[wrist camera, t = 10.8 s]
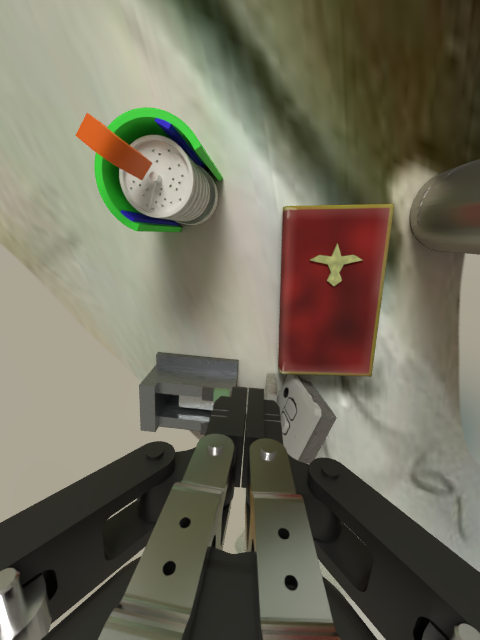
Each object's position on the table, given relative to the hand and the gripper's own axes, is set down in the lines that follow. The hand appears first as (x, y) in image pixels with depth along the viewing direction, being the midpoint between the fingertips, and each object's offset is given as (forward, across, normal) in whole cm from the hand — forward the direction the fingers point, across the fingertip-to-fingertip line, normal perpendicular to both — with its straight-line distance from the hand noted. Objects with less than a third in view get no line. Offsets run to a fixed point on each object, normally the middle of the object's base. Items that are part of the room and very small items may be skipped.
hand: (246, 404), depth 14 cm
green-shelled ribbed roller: (+27, +10, -12) cm, 31 cm away
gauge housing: (+27, +8, +15) cm, 32 cm away
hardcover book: (+27, -9, -1) cm, 29 cm away
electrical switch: (+27, -7, +16) cm, 32 cm away
